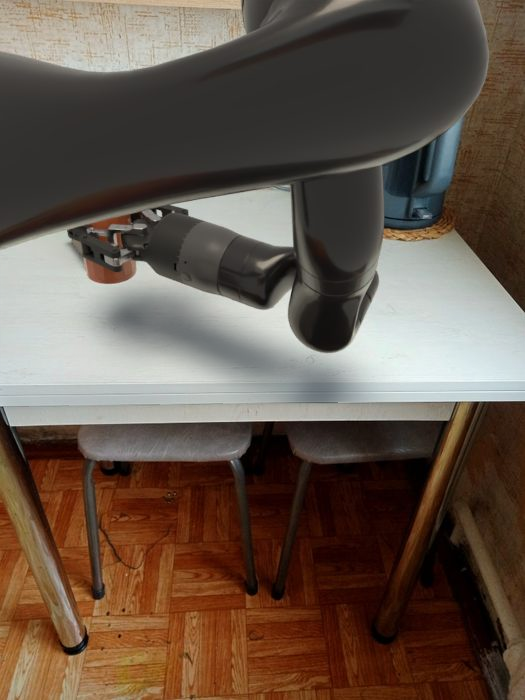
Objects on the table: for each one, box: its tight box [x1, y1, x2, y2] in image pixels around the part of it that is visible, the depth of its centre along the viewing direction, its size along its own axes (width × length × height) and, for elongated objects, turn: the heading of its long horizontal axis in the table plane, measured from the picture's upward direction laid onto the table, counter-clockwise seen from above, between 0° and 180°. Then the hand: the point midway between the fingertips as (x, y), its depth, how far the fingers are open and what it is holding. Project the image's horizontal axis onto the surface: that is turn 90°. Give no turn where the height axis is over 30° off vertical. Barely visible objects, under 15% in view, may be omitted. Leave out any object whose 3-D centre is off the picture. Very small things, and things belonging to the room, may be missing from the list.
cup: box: [80, 214, 137, 285], centre depth 64 cm, size 6×6×9 cm
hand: (90, 216), depth 63 cm, fingers closed on cup, 6 cm apart
